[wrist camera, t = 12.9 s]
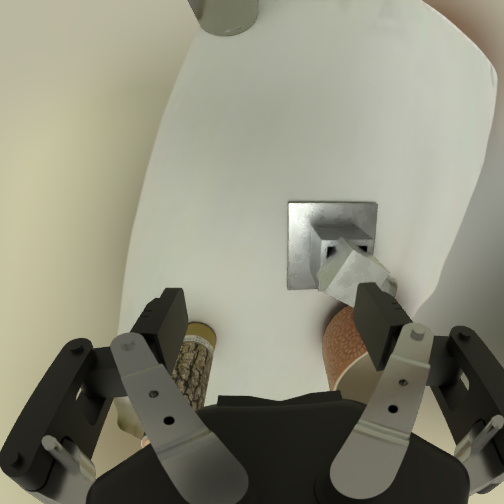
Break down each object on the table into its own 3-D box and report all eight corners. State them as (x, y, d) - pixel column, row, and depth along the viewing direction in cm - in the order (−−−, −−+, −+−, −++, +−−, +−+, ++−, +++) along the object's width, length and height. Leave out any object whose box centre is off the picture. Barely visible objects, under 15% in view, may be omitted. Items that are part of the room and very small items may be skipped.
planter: (366, 366, 52) (388, 419, 38) (298, 346, 50) (309, 408, 36) (413, 302, 47) (452, 350, 32) (347, 271, 44) (380, 323, 30)
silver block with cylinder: (308, 257, 42) (323, 292, 31) (329, 223, 40) (353, 249, 29) (354, 282, 43) (378, 320, 33) (375, 252, 41) (406, 283, 31)
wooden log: (179, 319, 48) (135, 432, 25) (216, 322, 48) (191, 443, 25) (182, 347, 51) (147, 456, 27) (216, 351, 51) (196, 465, 27)
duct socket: (288, 202, 41) (295, 214, 33) (375, 202, 40) (398, 214, 33) (287, 287, 46) (292, 313, 38) (366, 283, 45) (383, 307, 38)
